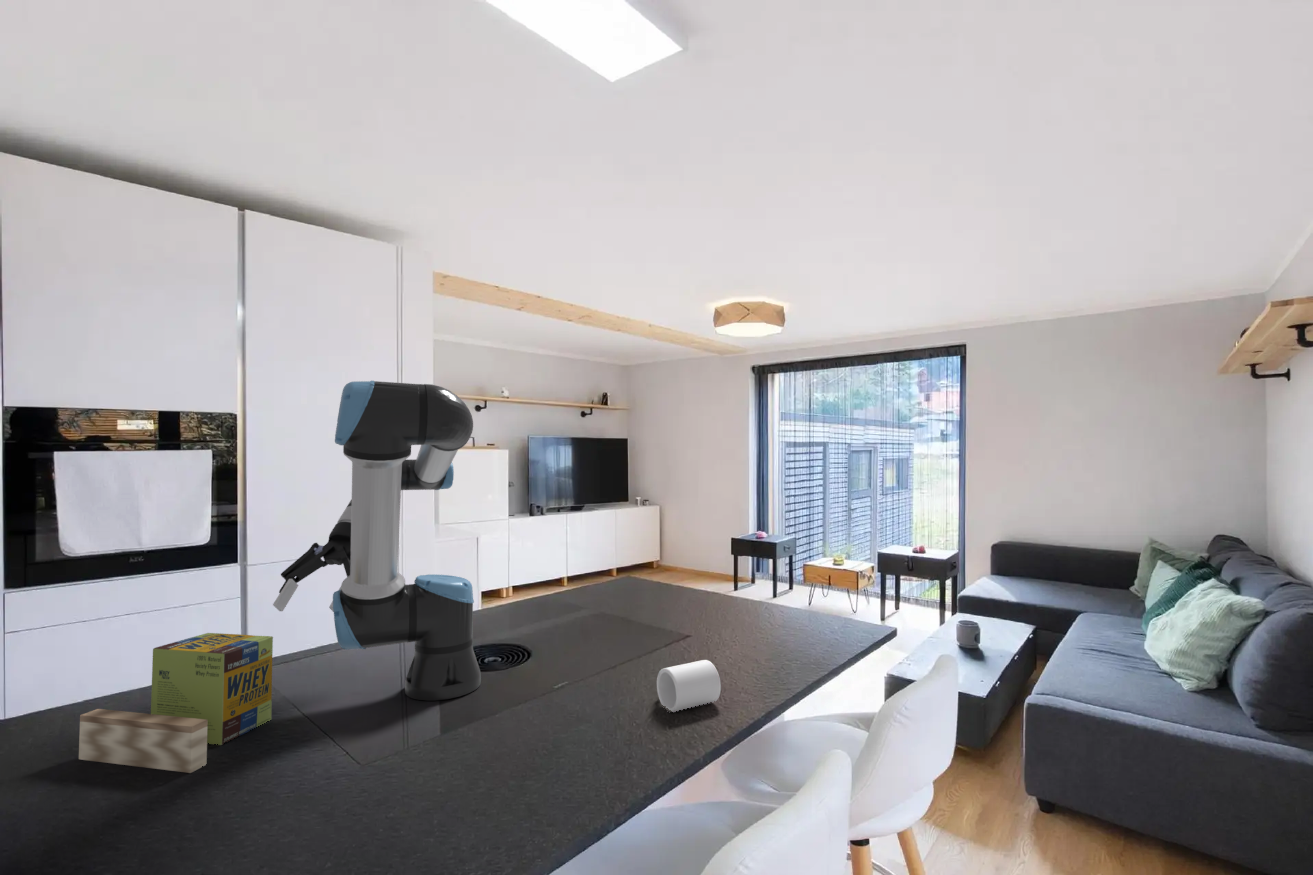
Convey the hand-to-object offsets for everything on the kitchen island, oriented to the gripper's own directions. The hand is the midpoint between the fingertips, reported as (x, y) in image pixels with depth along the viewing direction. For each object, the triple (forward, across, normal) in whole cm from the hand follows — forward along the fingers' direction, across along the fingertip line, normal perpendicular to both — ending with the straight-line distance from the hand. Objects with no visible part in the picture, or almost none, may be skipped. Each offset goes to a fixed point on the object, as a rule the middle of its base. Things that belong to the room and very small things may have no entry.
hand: (305, 609), depth 130 cm
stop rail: (+35, +1, +13) cm, 37 cm away
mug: (+9, -81, -14) cm, 83 cm away
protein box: (+26, +1, +4) cm, 27 cm away
